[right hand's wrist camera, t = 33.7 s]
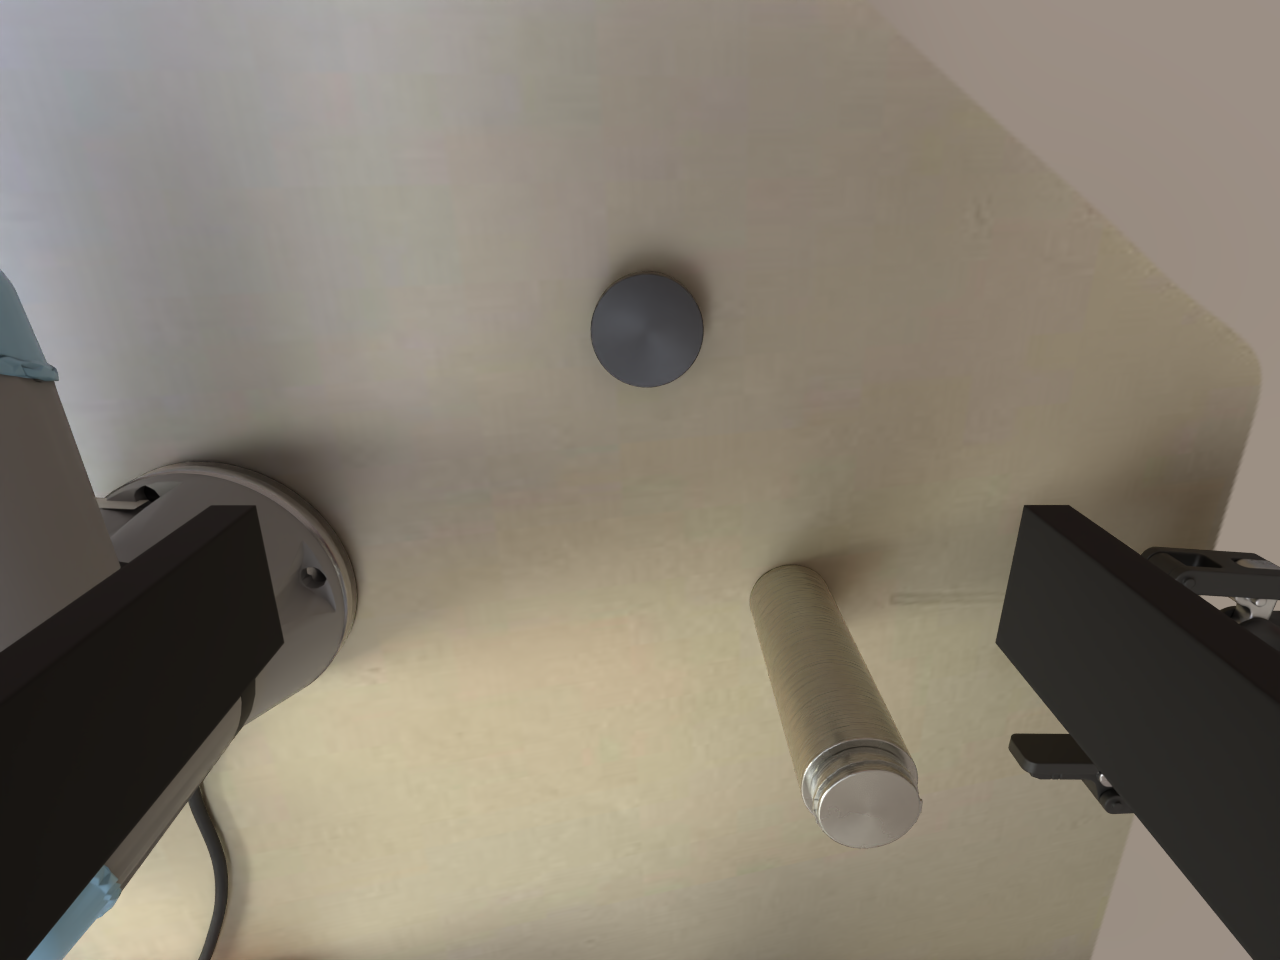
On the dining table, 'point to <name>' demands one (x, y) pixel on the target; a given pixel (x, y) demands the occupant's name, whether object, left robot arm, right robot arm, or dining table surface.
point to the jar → (833, 713)
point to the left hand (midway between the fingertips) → (1033, 684)
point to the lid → (647, 329)
